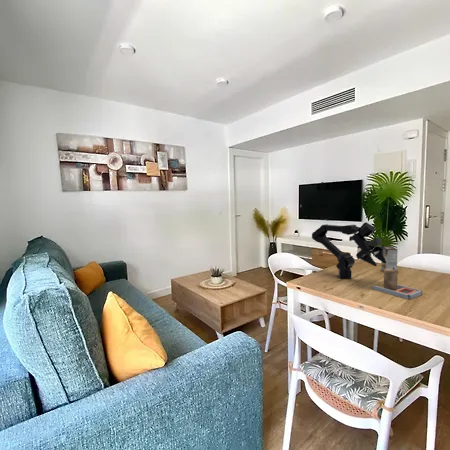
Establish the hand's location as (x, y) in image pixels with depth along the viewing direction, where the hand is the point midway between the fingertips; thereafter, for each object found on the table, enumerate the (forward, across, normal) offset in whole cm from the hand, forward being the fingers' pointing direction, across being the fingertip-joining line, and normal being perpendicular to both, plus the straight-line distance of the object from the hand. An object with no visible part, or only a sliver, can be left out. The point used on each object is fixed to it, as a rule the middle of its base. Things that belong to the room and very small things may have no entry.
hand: (381, 264), depth 137 cm
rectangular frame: (+18, 0, 0) cm, 18 cm away
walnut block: (+13, 0, +6) cm, 14 cm away
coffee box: (0, +33, +19) cm, 38 cm away
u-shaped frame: (+15, 0, +3) cm, 15 cm away
